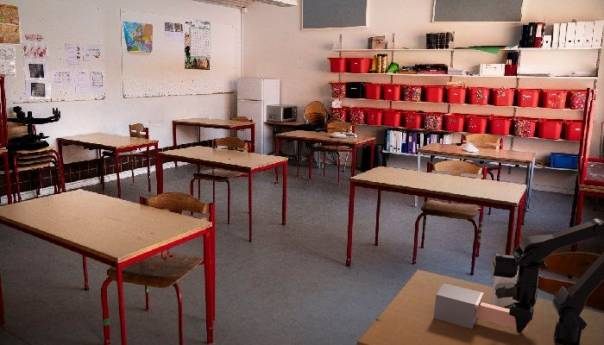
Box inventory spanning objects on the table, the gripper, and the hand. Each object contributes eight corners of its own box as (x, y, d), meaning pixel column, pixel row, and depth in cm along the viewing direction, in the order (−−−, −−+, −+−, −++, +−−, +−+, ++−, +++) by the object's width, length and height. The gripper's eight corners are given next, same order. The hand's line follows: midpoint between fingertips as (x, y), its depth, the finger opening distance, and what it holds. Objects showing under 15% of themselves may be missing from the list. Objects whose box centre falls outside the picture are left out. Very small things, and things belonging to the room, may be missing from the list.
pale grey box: (480, 316, 163) (483, 292, 161) (474, 329, 154) (478, 305, 152) (441, 305, 169) (443, 283, 167) (433, 318, 160) (436, 294, 158)
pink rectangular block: (527, 328, 153) (529, 314, 152) (526, 331, 150) (528, 317, 149) (473, 314, 160) (475, 300, 159) (471, 317, 158) (473, 303, 157)
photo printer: (507, 297, 177) (511, 264, 174) (518, 302, 173) (523, 269, 171) (488, 304, 171) (493, 270, 169) (499, 309, 168) (504, 275, 165)
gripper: (503, 263, 161) (496, 307, 164) (494, 284, 145) (487, 333, 148) (541, 271, 156) (533, 317, 159) (536, 294, 140) (528, 344, 143)
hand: (520, 327), depth 152 cm, fingers open, 7 cm apart
